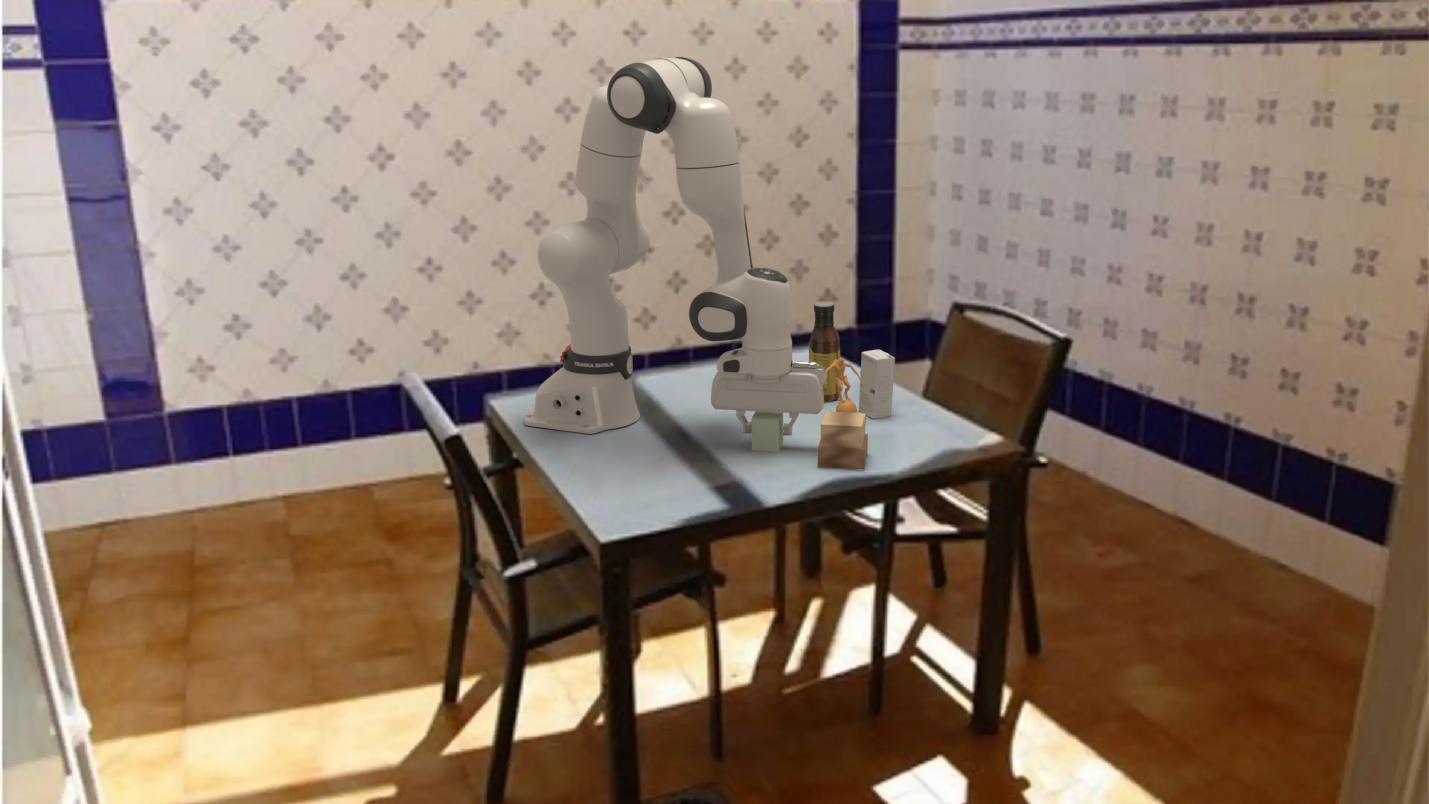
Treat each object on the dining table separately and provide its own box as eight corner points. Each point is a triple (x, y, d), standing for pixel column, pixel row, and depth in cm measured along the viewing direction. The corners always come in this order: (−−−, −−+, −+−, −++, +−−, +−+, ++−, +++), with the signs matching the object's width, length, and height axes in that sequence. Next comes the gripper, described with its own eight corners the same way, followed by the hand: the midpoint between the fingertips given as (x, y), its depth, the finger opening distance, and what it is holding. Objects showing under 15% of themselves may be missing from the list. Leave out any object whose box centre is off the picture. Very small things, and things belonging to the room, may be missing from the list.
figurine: (834, 426, 225) (835, 366, 221) (816, 418, 230) (816, 358, 226) (869, 419, 229) (871, 359, 225) (850, 410, 234) (852, 351, 230)
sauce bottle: (822, 391, 245) (823, 297, 239) (846, 397, 241) (848, 302, 235) (802, 398, 241) (802, 303, 235) (826, 405, 237) (827, 308, 231)
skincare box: (857, 410, 233) (858, 351, 230) (877, 407, 235) (879, 348, 231) (873, 419, 228) (875, 359, 224) (893, 416, 230) (895, 356, 226)
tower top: (820, 446, 205) (820, 424, 203) (825, 432, 211) (826, 411, 210) (861, 448, 203) (861, 426, 202) (865, 434, 210) (865, 413, 208)
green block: (751, 450, 214) (751, 418, 212) (756, 440, 218) (756, 409, 217) (779, 451, 213) (779, 420, 211) (783, 442, 217) (783, 411, 216)
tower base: (817, 468, 205) (817, 447, 204) (822, 452, 213) (822, 431, 212) (864, 471, 204) (864, 449, 203) (867, 454, 211) (867, 433, 210)
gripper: (827, 357, 211) (826, 430, 216) (715, 353, 215) (716, 424, 220) (823, 367, 205) (822, 442, 210) (708, 362, 209) (709, 436, 214)
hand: (767, 433), depth 215 cm, fingers open, 6 cm apart
